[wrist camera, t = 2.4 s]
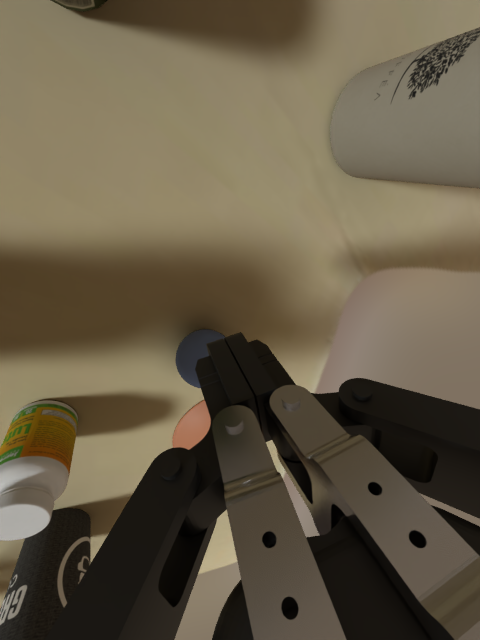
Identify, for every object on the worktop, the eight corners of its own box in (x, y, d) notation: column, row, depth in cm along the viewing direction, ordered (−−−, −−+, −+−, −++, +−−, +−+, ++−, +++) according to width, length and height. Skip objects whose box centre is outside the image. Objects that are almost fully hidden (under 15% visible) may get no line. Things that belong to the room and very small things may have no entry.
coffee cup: (50, 490, 33) (4, 695, 20) (120, 510, 38) (118, 682, 26) (-8, 543, 33) (-86, 771, 21) (69, 555, 39) (43, 743, 26)
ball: (180, 372, 31) (189, 409, 27) (165, 329, 28) (172, 362, 24) (229, 355, 32) (246, 388, 28) (219, 312, 29) (237, 341, 25)
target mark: (187, 480, 40) (188, 481, 39) (158, 415, 33) (158, 416, 33) (276, 443, 42) (276, 444, 42) (266, 376, 35) (266, 377, 35)
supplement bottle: (34, 389, 27) (-5, 490, 19) (90, 410, 30) (77, 505, 22) (0, 430, 27) (-51, 543, 19) (58, 446, 30) (35, 550, 22)
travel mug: (413, 144, 28) (748, 130, 13) (344, 195, 28) (597, 240, 13) (396, 43, 23) (878, -157, 8) (314, 105, 23) (647, 13, 8)
